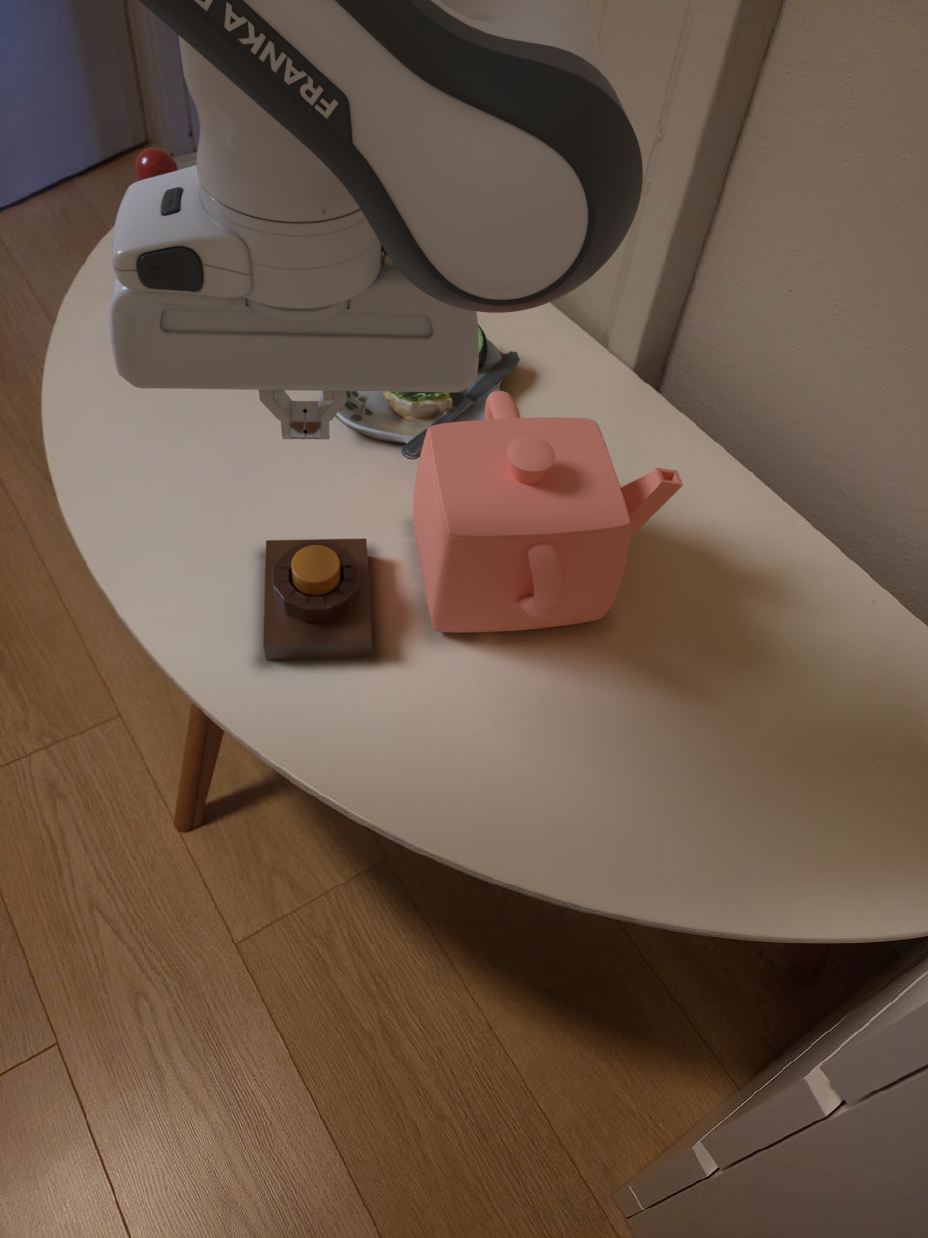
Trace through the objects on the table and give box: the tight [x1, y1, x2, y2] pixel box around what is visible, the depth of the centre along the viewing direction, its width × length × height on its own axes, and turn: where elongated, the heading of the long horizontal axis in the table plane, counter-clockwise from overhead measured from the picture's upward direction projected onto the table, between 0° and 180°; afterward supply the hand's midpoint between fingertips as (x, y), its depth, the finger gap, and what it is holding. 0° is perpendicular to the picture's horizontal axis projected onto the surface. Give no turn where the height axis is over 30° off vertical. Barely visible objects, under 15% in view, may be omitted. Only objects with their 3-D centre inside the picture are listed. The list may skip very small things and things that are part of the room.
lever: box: [134, 147, 197, 181], centre depth 84 cm, size 14×4×4 cm, turn 144°
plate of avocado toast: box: [334, 324, 521, 461], centre depth 85 cm, size 19×18×5 cm
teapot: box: [412, 390, 684, 633], centre depth 71 cm, size 20×22×14 cm
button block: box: [262, 538, 373, 661], centre depth 71 cm, size 8×10×4 cm
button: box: [291, 545, 340, 596], centre depth 69 cm, size 4×4×2 cm
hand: (306, 432), depth 57 cm, fingers closed
